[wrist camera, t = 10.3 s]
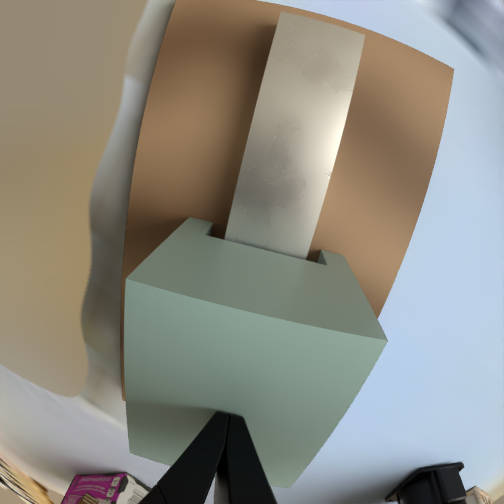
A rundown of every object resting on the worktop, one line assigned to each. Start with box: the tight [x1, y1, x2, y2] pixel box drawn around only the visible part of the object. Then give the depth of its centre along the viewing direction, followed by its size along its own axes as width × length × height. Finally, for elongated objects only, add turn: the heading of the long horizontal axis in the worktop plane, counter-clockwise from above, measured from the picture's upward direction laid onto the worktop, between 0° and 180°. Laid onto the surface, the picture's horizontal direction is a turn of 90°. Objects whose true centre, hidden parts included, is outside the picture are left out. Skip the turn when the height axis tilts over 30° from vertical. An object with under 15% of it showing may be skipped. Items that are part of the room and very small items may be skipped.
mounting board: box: [120, 0, 454, 401], centre depth 14 cm, size 22×12×1 cm, turn 167°
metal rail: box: [224, 11, 365, 260], centre depth 12 cm, size 20×3×2 cm, turn 167°
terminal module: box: [124, 217, 388, 488], centre depth 11 cm, size 8×6×6 cm
